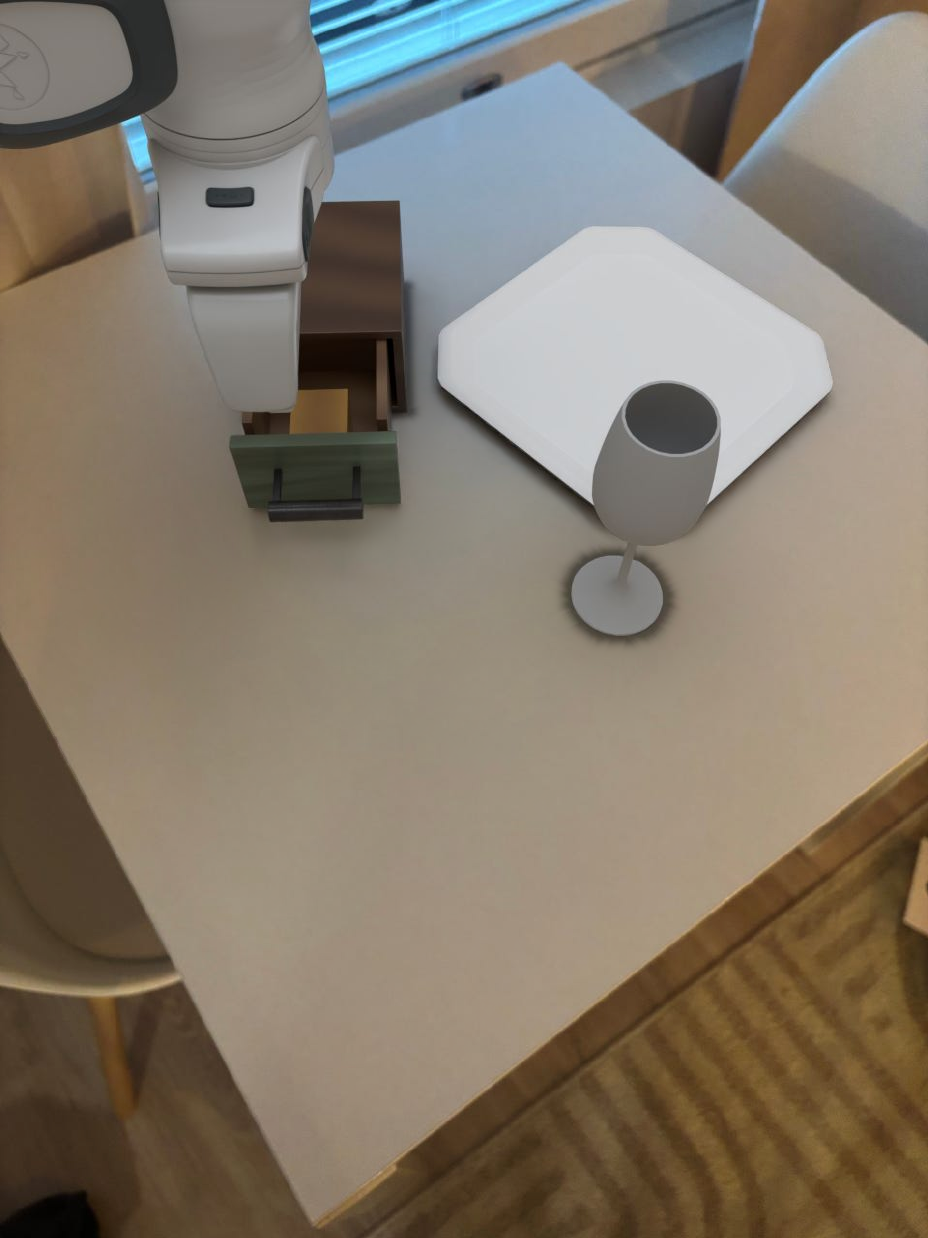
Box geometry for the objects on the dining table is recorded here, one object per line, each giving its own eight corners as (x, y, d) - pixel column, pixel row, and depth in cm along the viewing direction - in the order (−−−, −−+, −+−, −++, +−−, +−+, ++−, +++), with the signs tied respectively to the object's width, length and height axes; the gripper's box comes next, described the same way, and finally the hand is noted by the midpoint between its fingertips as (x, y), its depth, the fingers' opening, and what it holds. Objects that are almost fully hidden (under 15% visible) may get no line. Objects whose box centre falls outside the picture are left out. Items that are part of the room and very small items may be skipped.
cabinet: (407, 412, 83) (402, 330, 74) (251, 416, 82) (228, 334, 74) (404, 286, 90) (399, 199, 82) (261, 289, 90) (242, 202, 81)
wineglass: (638, 543, 77) (697, 356, 58) (681, 620, 73) (759, 447, 55) (553, 571, 75) (586, 388, 57) (593, 651, 72) (642, 484, 53)
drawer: (402, 551, 75) (397, 493, 68) (244, 556, 74) (224, 498, 68) (399, 371, 84) (394, 303, 77) (259, 374, 84) (242, 306, 77)
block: (297, 469, 77) (289, 433, 73) (299, 426, 79) (291, 389, 75) (352, 468, 77) (347, 432, 73) (353, 425, 80) (347, 388, 76)
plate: (613, 221, 95) (616, 202, 93) (854, 376, 85) (863, 359, 84) (403, 371, 85) (402, 353, 83) (650, 566, 75) (655, 551, 74)
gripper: (193, 18, 51) (241, 232, 63) (156, 284, 41) (221, 477, 53) (310, 16, 51) (335, 230, 64) (301, 281, 42) (332, 473, 54)
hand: (283, 345), depth 58 cm, fingers open, 8 cm apart
